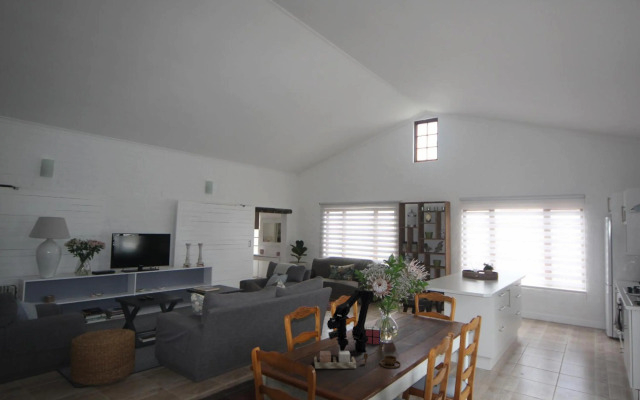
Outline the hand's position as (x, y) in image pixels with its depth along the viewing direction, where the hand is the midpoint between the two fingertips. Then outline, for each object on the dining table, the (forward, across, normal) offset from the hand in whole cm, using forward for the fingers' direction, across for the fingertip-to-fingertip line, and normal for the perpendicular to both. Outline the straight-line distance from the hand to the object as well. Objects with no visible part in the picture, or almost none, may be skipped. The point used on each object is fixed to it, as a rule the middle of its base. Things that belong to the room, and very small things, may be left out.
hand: (341, 352), depth 225 cm
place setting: (+3, +12, +24) cm, 27 cm away
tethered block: (+3, +8, 0) cm, 8 cm away
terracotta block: (+3, +14, -11) cm, 18 cm away
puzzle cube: (+3, -29, +26) cm, 39 cm away
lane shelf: (+2, +14, -6) cm, 15 cm away
